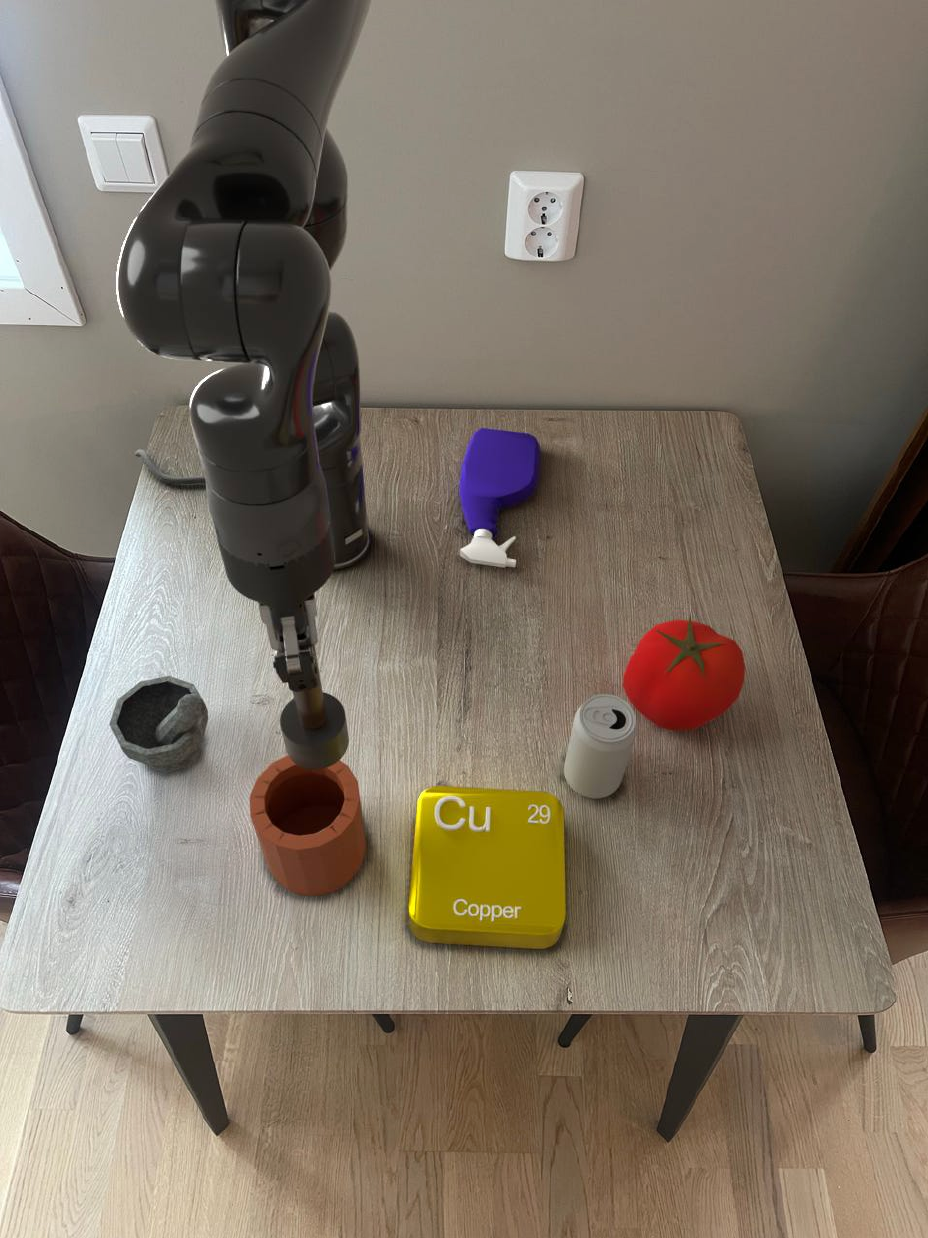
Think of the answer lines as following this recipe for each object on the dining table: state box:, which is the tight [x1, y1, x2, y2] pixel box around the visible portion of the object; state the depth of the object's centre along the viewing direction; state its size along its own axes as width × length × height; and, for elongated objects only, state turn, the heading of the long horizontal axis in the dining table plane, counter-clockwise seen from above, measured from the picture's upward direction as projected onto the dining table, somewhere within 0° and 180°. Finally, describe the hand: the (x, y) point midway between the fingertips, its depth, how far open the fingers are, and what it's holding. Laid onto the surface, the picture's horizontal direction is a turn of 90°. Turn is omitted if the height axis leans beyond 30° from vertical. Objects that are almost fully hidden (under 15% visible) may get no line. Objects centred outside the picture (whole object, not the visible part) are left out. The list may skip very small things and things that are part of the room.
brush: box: [279, 624, 350, 770], centre depth 76 cm, size 6×6×16 cm
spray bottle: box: [458, 427, 542, 568], centre depth 126 cm, size 3×11×24 cm
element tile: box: [407, 785, 567, 950], centre depth 92 cm, size 15×15×5 cm
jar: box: [249, 754, 367, 897], centre depth 91 cm, size 10×10×11 cm
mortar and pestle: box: [108, 675, 209, 774], centre depth 98 cm, size 11×9×12 cm
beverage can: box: [563, 693, 638, 799], centre depth 97 cm, size 6×6×12 cm
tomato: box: [622, 613, 746, 732], centre depth 103 cm, size 12×13×12 cm
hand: (302, 670), depth 74 cm, fingers closed on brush, 2 cm apart
